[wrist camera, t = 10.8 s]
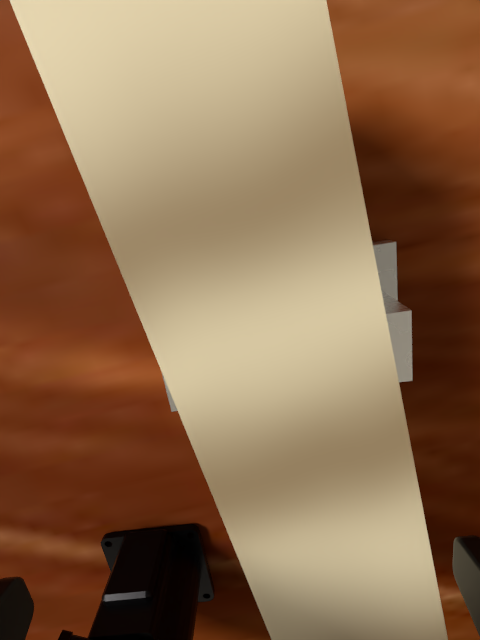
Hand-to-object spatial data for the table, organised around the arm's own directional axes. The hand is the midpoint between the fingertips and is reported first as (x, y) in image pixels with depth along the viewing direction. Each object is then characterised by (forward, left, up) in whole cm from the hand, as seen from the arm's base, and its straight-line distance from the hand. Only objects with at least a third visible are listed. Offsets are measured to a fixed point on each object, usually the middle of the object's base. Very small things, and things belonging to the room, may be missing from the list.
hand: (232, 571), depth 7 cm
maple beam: (+1, -2, -8) cm, 8 cm away
